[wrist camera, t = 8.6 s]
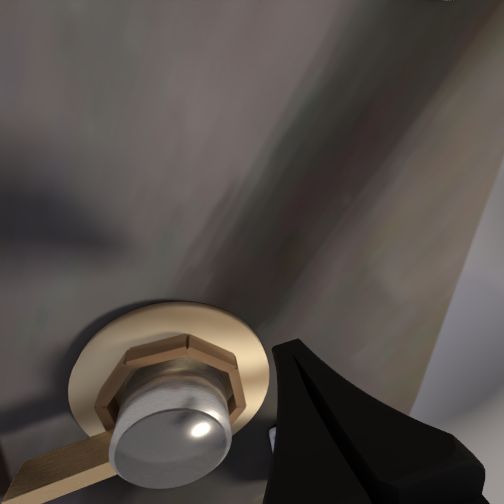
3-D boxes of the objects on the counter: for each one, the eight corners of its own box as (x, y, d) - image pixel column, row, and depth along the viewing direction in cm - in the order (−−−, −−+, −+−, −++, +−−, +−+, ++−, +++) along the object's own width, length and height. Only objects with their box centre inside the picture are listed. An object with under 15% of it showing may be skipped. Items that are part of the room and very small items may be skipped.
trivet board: (275, 417, 28) (283, 441, 26) (113, 467, 26) (105, 499, 23) (252, 280, 22) (259, 296, 19) (36, 331, 20) (16, 355, 17)
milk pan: (207, 340, 21) (212, 390, 17) (235, 408, 25) (245, 464, 20) (11, 409, 20) (-40, 483, 16) (67, 471, 23) (38, 547, 19)
